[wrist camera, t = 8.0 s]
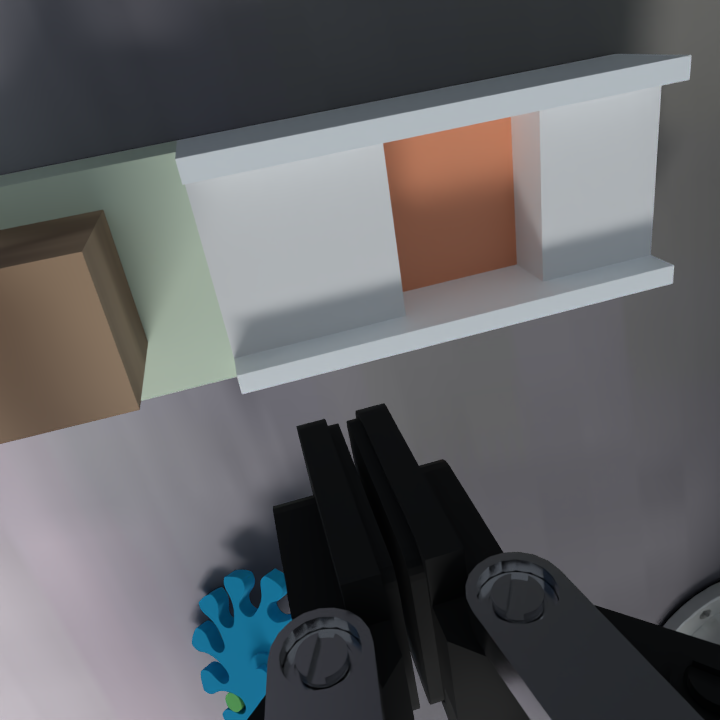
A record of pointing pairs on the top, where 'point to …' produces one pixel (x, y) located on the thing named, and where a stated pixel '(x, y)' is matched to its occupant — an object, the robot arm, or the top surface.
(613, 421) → the top surface
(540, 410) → the top surface
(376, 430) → the robot arm
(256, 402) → the top surface
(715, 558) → the top surface
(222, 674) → the gear
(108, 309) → the block
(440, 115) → the trough
